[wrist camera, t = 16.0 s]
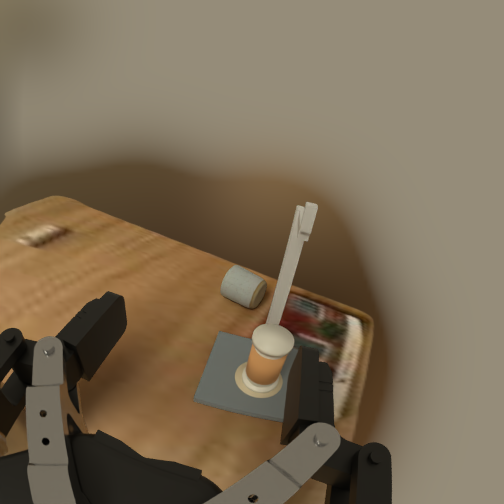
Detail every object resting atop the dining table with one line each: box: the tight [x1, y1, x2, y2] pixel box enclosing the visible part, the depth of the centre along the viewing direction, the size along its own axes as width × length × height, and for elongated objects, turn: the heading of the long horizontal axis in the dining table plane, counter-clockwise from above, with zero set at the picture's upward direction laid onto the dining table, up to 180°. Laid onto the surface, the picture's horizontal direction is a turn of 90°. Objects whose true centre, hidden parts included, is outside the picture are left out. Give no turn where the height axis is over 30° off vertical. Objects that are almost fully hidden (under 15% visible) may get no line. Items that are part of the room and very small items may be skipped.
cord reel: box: [242, 324, 294, 393], centre depth 41 cm, size 6×6×10 cm
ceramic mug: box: [221, 265, 267, 309], centre depth 63 cm, size 11×8×8 cm
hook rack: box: [194, 202, 318, 422], centre depth 37 cm, size 18×16×31 cm
